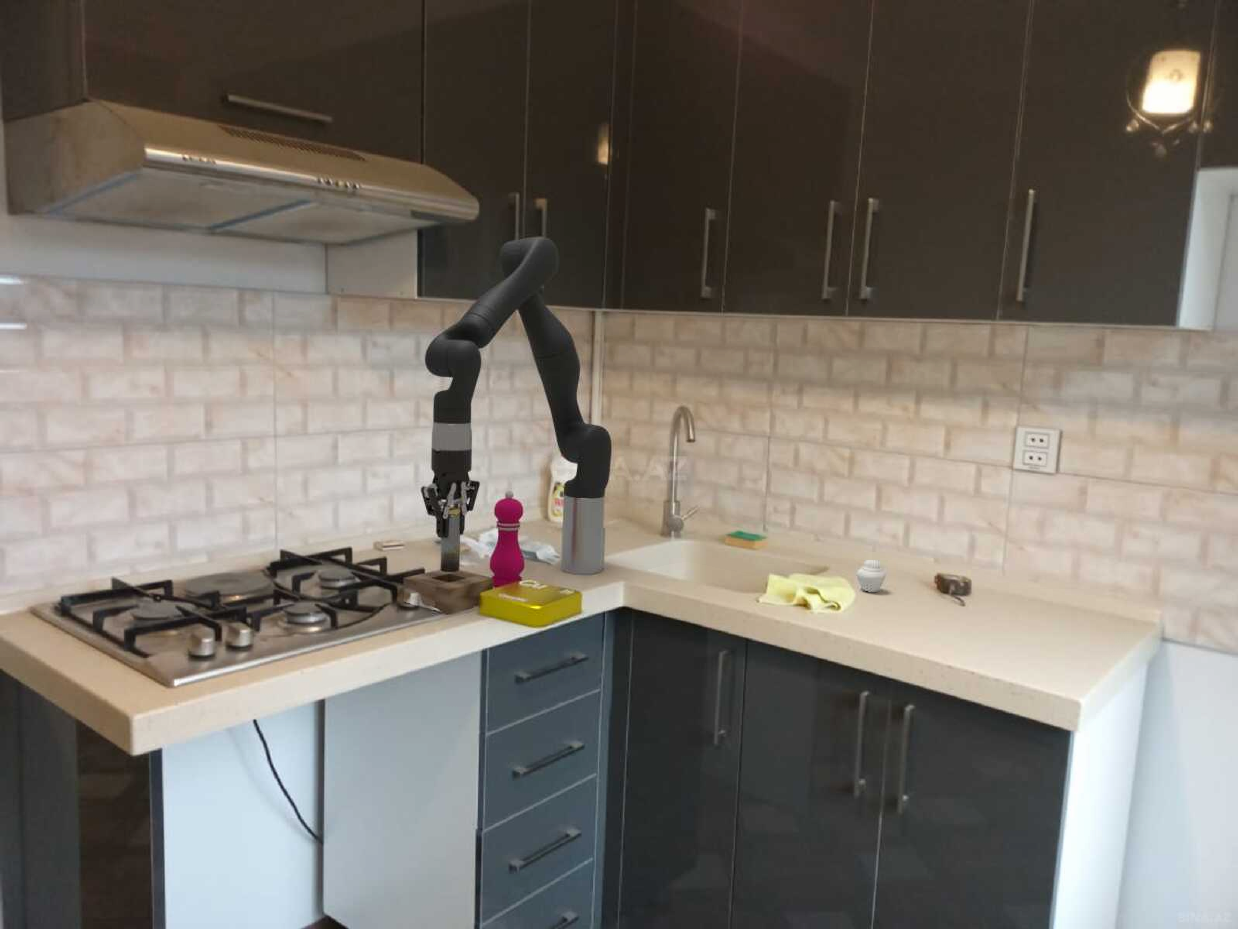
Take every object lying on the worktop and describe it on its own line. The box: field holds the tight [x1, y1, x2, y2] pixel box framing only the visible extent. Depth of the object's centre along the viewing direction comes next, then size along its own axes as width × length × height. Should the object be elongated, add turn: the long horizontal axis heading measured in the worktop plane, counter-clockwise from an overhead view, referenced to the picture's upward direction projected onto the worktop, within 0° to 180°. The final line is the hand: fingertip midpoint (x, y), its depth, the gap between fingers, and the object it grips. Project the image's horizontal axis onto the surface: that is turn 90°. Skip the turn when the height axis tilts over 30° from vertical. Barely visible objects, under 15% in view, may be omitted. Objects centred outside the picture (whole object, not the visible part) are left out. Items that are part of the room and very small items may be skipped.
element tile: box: [478, 579, 583, 628], centre depth 178 cm, size 15×15×5 cm
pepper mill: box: [489, 490, 525, 588], centre depth 196 cm, size 7×7×20 cm
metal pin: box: [439, 506, 461, 572], centre depth 180 cm, size 4×4×12 cm
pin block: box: [402, 569, 494, 616], centre depth 181 cm, size 12×12×5 cm
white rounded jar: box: [856, 558, 886, 593], centre depth 206 cm, size 6×6×7 cm
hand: (450, 535), depth 180 cm, fingers closed on metal pin, 3 cm apart
